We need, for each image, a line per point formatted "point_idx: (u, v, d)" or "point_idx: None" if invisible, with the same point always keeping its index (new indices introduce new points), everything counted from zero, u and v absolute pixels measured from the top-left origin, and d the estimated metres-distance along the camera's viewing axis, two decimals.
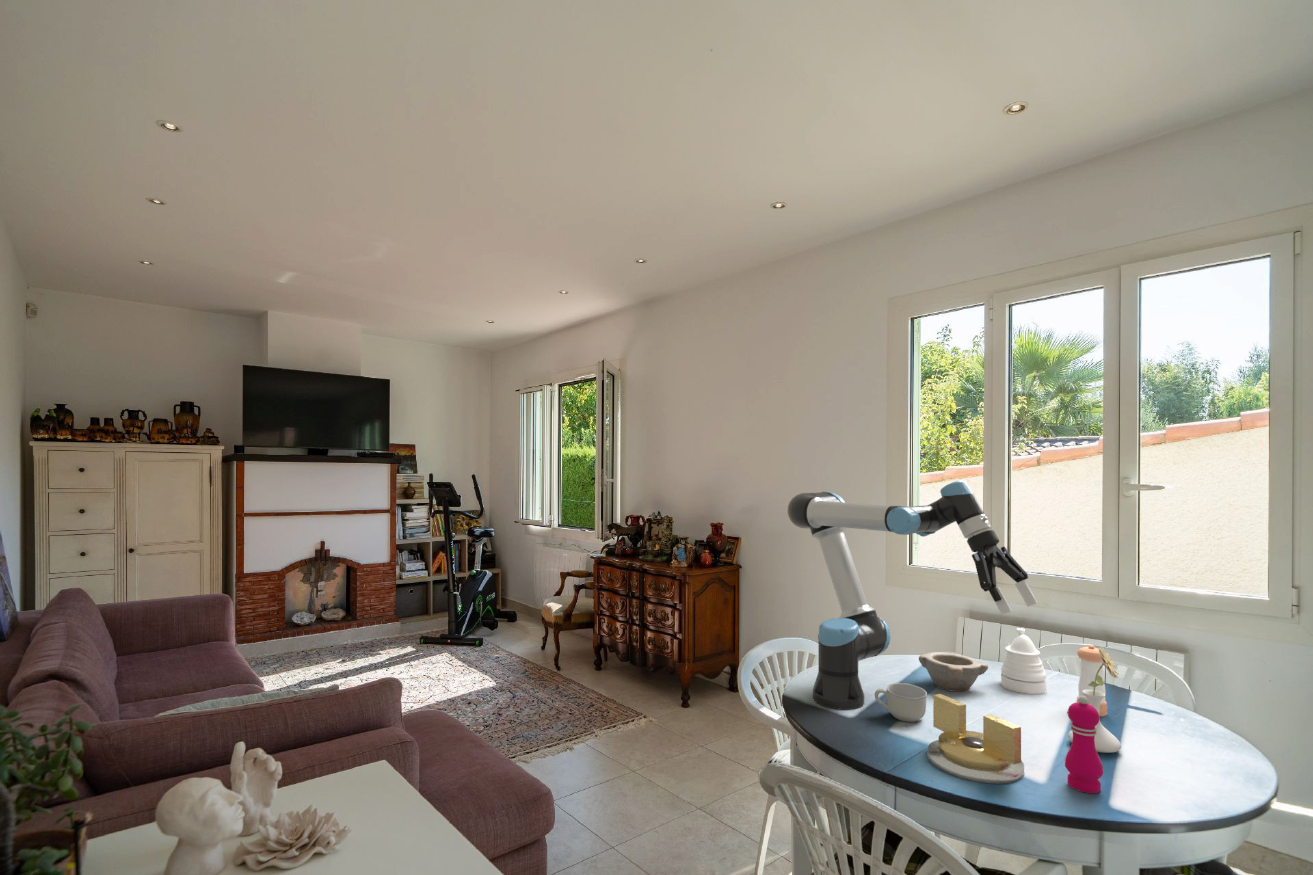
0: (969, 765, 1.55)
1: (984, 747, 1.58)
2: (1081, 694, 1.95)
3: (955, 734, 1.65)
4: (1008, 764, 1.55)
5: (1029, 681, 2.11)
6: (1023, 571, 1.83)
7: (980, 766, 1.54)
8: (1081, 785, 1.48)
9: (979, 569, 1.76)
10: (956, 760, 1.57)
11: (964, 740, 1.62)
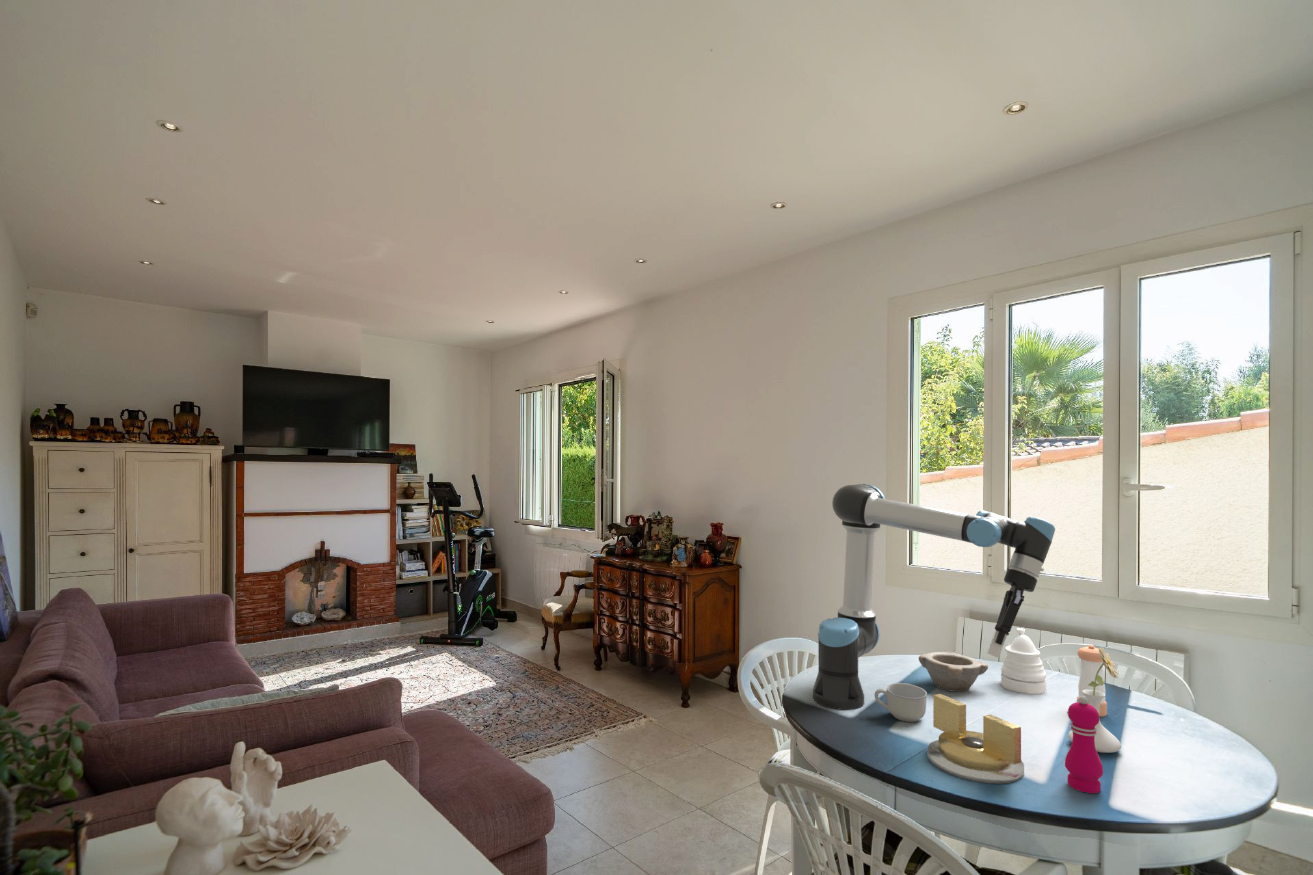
0: (969, 765, 1.55)
1: (984, 747, 1.58)
2: (1081, 694, 1.95)
3: (955, 734, 1.65)
4: (1008, 764, 1.55)
5: (1029, 681, 2.11)
6: None
7: (980, 766, 1.54)
8: (1081, 785, 1.48)
9: (1010, 612, 1.77)
10: (956, 760, 1.57)
11: (964, 740, 1.62)
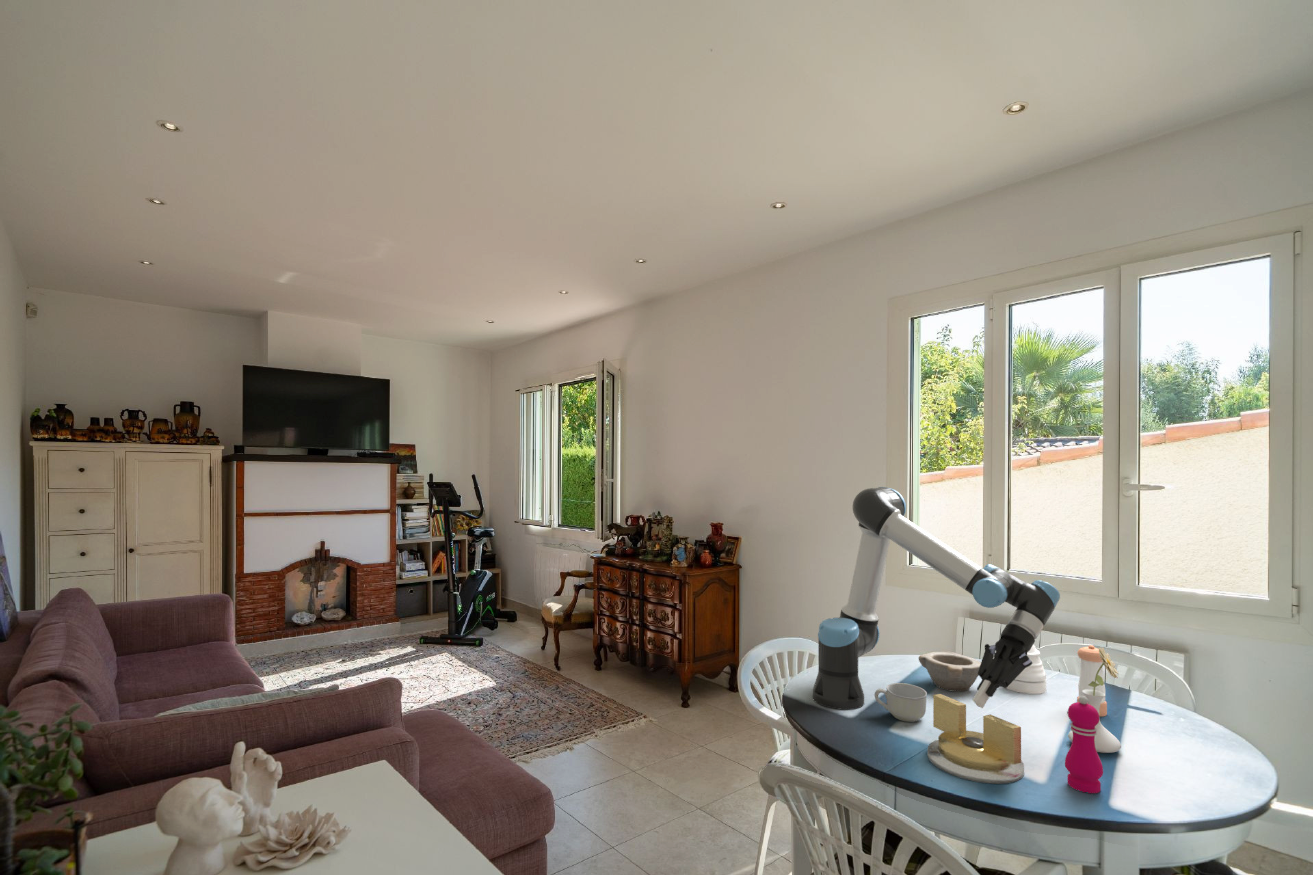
0: (969, 765, 1.55)
1: (984, 747, 1.58)
2: (1081, 694, 1.95)
3: (955, 734, 1.65)
4: (1008, 764, 1.55)
5: (1029, 681, 2.11)
6: None
7: (980, 766, 1.54)
8: (1081, 785, 1.48)
9: (1015, 670, 1.72)
10: (956, 760, 1.57)
11: (964, 740, 1.62)
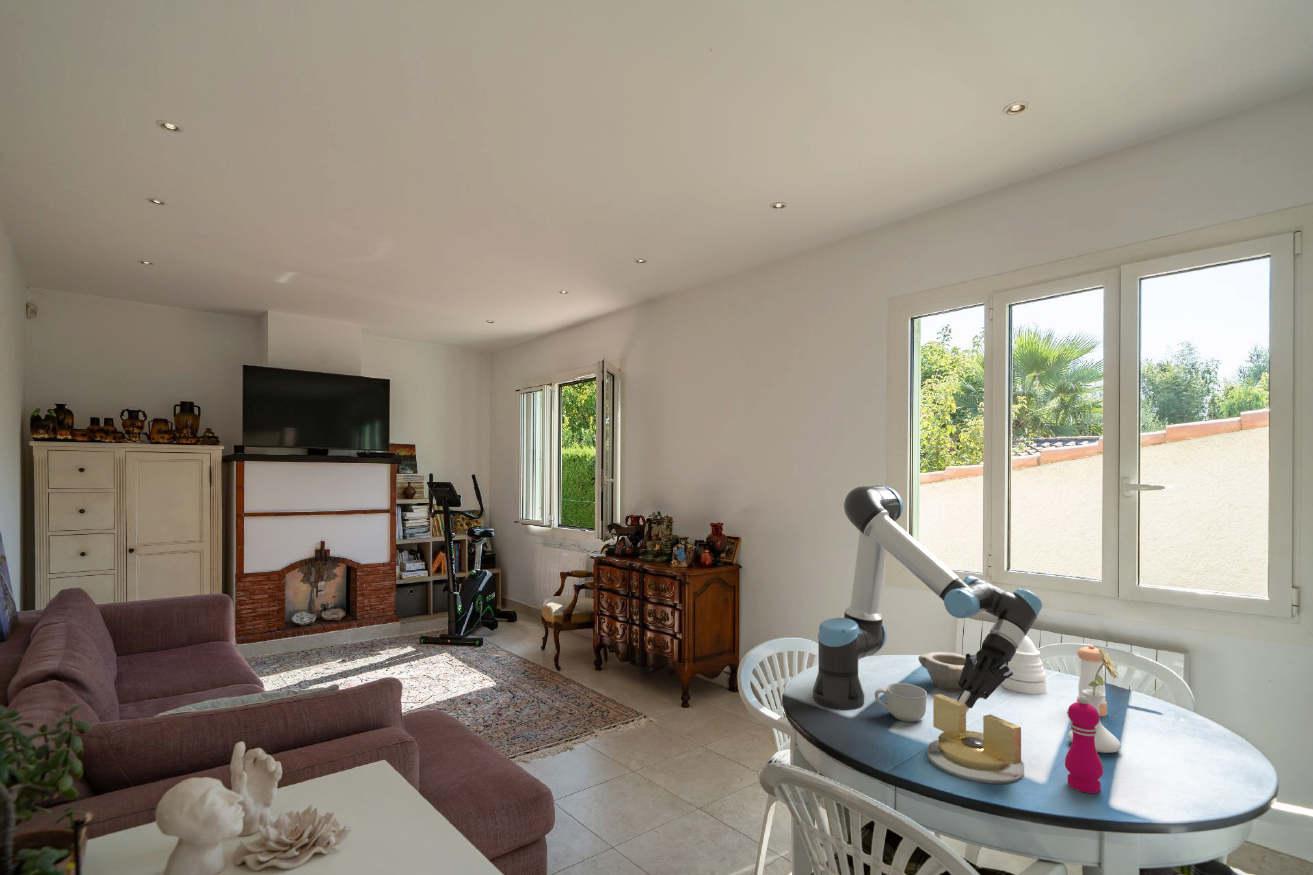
0: (969, 765, 1.55)
1: (984, 747, 1.58)
2: (1081, 694, 1.95)
3: (955, 734, 1.65)
4: (1008, 764, 1.55)
5: (1029, 681, 2.11)
6: None
7: (980, 766, 1.54)
8: (1081, 785, 1.48)
9: (995, 681, 1.69)
10: (956, 760, 1.57)
11: (964, 740, 1.62)
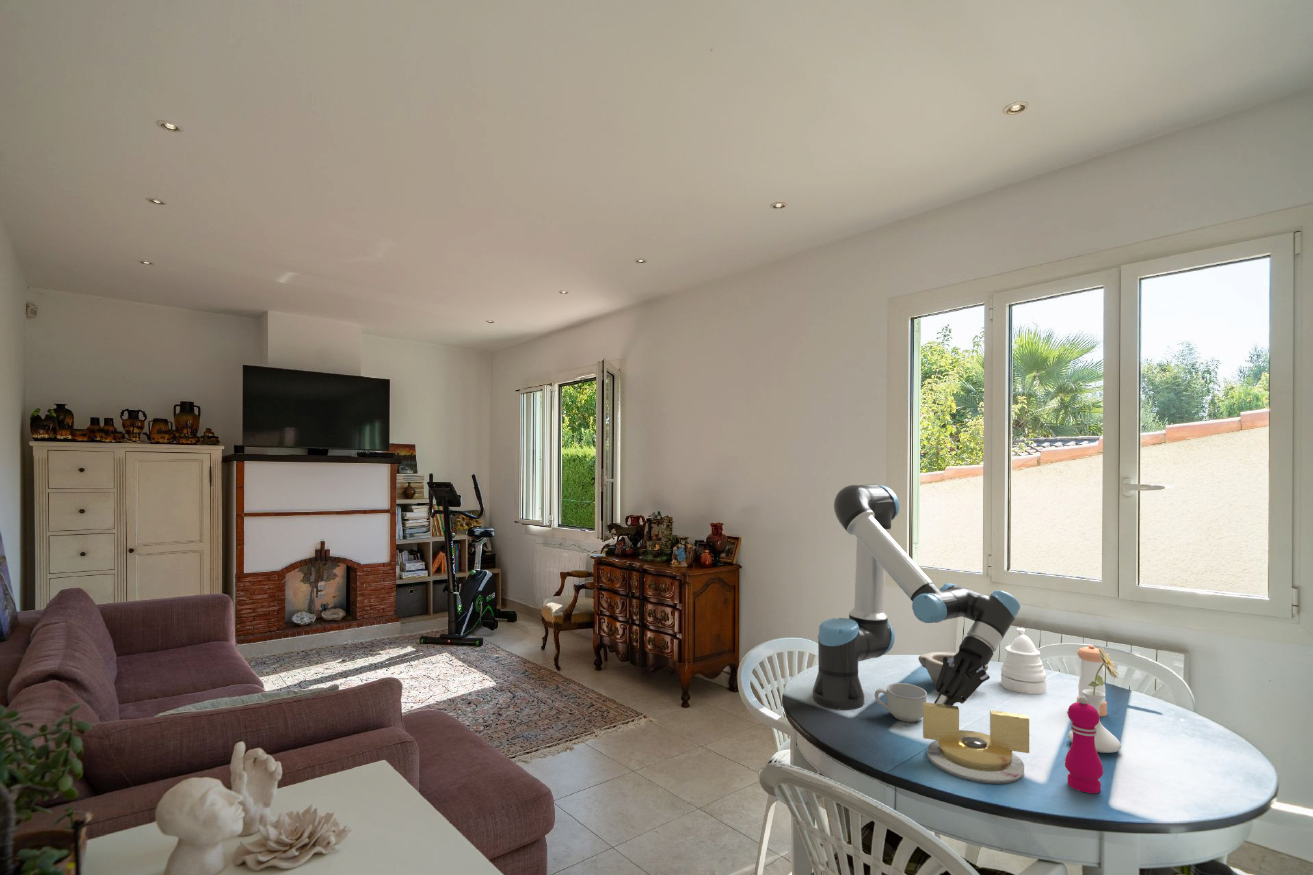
0: (998, 767, 1.54)
1: (992, 744, 1.59)
2: (1081, 694, 1.95)
3: (954, 740, 1.62)
4: None
5: (1029, 681, 2.11)
6: None
7: (1005, 765, 1.55)
8: (1081, 785, 1.48)
9: (972, 685, 1.66)
10: (986, 767, 1.54)
11: (969, 743, 1.61)
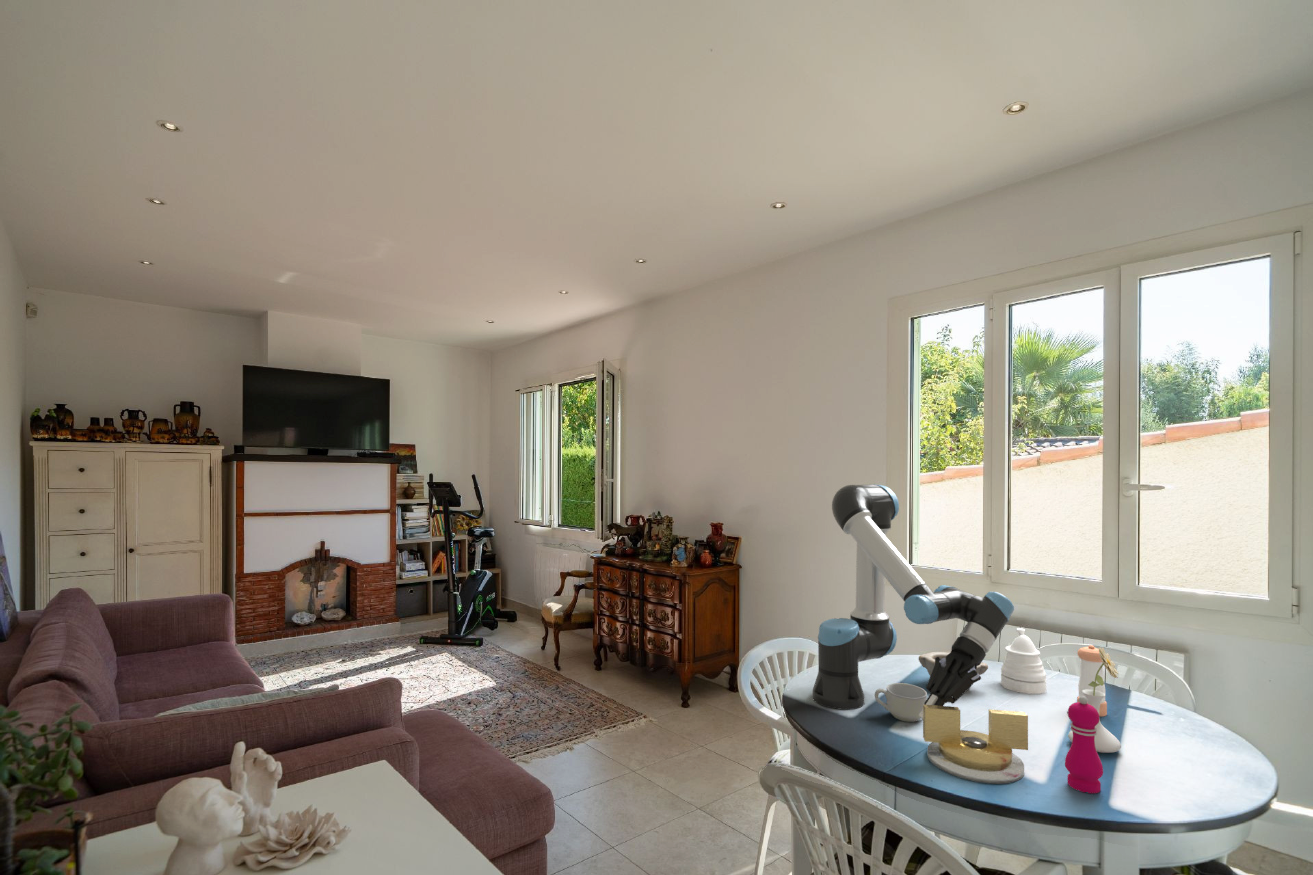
0: (1003, 767, 1.54)
1: (993, 743, 1.60)
2: (1081, 694, 1.95)
3: (955, 741, 1.61)
4: None
5: (1029, 681, 2.11)
6: None
7: (1008, 763, 1.55)
8: (1081, 785, 1.48)
9: (963, 685, 1.65)
10: (992, 767, 1.54)
11: (970, 744, 1.60)
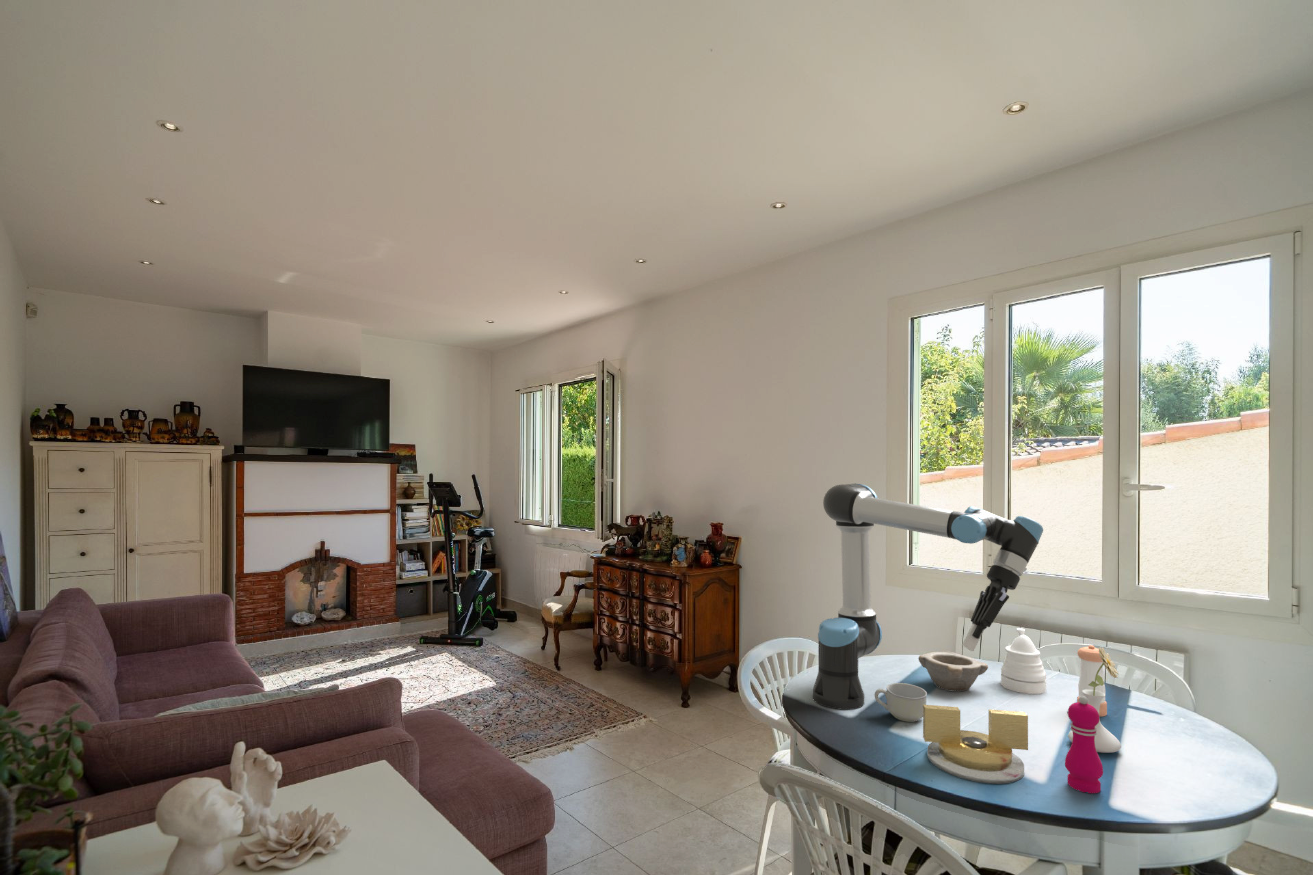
0: (1003, 767, 1.54)
1: (993, 743, 1.60)
2: (1081, 694, 1.95)
3: (955, 741, 1.61)
4: None
5: (1029, 681, 2.11)
6: None
7: (1008, 763, 1.55)
8: (1081, 785, 1.48)
9: (993, 608, 1.76)
10: (992, 767, 1.54)
11: (970, 744, 1.60)
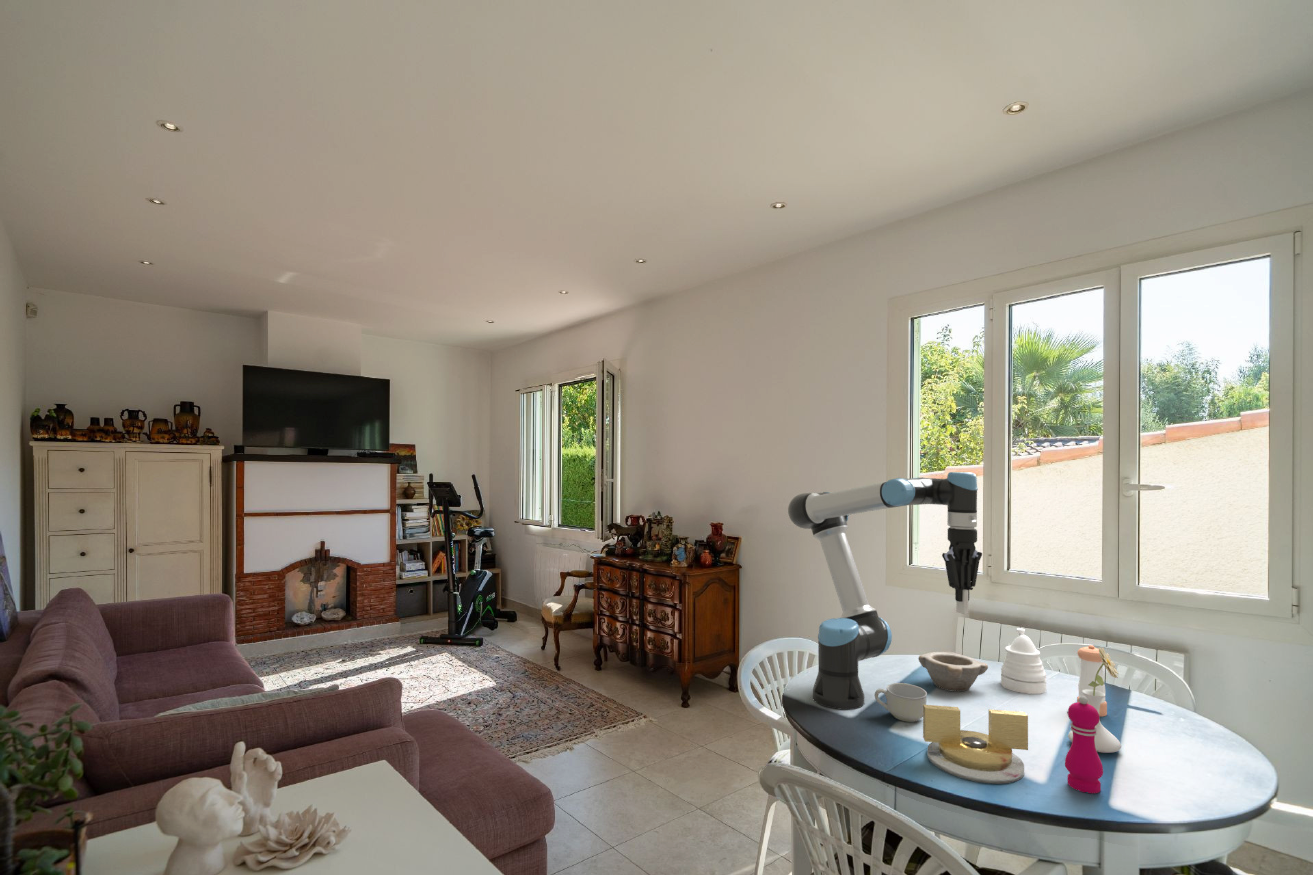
0: (1003, 767, 1.54)
1: (993, 743, 1.60)
2: (1081, 694, 1.95)
3: (955, 741, 1.61)
4: None
5: (1029, 681, 2.11)
6: (974, 581, 1.87)
7: (1008, 763, 1.55)
8: (1081, 785, 1.48)
9: (948, 570, 1.85)
10: (992, 767, 1.54)
11: (970, 744, 1.60)
